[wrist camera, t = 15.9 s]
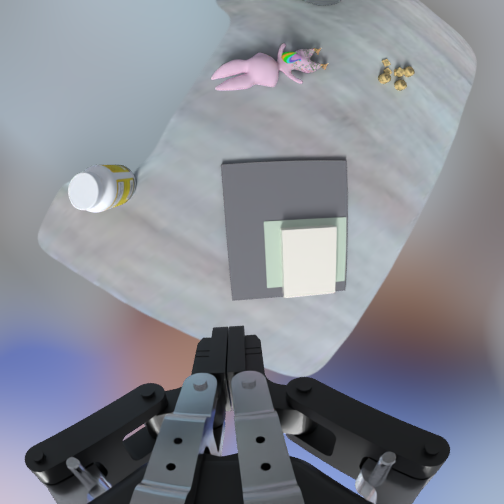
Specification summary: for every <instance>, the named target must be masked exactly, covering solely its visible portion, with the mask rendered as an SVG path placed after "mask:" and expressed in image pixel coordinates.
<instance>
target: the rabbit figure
mask: <svg viewBox="0 0 504 504" xmlns="http://www.w3.org/2000/svg"><path fill="white" fill-rule="evenodd" d="M285 47H286V44H285V43H283V44H282V45H281V47H280V49H279V51H278V60H277V62H276V61H275V60H274V59H273V58H272V57H270V56H268V55H266V54H264V53H257V54H256V55H255V56H253V57H252V58H250V59H248V60H241V59H236V60H232V61H229V62H227V63H225V64H223V65H222V66H220V67H219V68H218V69H217V70H216V71H215V73H214V74H213V75H212V77H211V79H212V80H214V79H219V78H224V77H228V76H233V75H237V74H240V73H245V74H243V75H239V76H237V77H234V78H231V79H228V80H226V81H225V82H223V83H221V84H220V85H218V86H217V87H215V89H216V90H240V89H247V88H250V87H252V86H253V85H255V84H258V85H263V86H269V87H274V86H276V84H277V82H278V73H279V70H280V71H282V72H283V73H285V74H286V75H287V76H288V77H289V78H291V79H292V80H294V81H296V82H298V83H300V84H302V83H303V81H302V80H301V79H298V78H296V77H294V76H293V75H292V73H291V70H294V69H296V70H299V71H302V72H305V73H312V72H315V71H316V70H317V69H319V68H320V67H321V66H323V67H322V68H325V69H324V70H326V67H327V64H329V63H327V64H319V63H316V62H313V61H311V60H310V58H311V57H312V55H313V53H314V51H316V52H315V53H317V54H318V53H319V51H320V49H321V48H320V49H316V48H313V49H299V50H297V51H296V52H284V53H283V49H284V48H285ZM318 55H319V54H318Z"/></svg>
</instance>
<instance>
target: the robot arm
mask: <svg viewBox="0 0 504 504" xmlns="http://www.w3.org/2000/svg"><path fill="white" fill-rule="evenodd" d="M304 1H306V2H309V3H312V4H316V5H332V4H336V3H338V2H339V1H341V0H304ZM231 404H232V408H233V411H234V415H235V416H234V421H235V431H236V440H237V449H238V453H237V454H232V455H228V456H221V454H222V447H223V439H224V432H225V415H226V413H225V412H226V411H231ZM142 424H144V425H145V427H144V428H142V429H140V430H139V431H137V432H136V433H135V434H133V435H132V436H130V437H129V438H127V439H126V440H124V441H123V439H124V437H125V436H126V435H127V434H129V433H130V432H132V431H133V430H135V429H136V428H138V427H139V426H141V425H142ZM283 433H286V436H287V437H288V438H289V439H290V440H292V441H293V442H295V443H296V444H298V445H299V446H301V447H302V448H304V449H305V450H307V451H308V452H310V453H311V454H313V455H315V456H316V457H318V458H319V459H321V460H322V461H324V462H326V463H328V464H329V465H331V466H333V467H334V468H336V469H338V470H339V471H341V472H343V473H344V474H346V475H348V476H350V477H352V478H353V479H355V480H356V482H355V487H356V490H357V492H358V493H359V494H360V495H362V496H363V497H364V498H363V497H361V496H360V495H358V494H356V493H354V492H353V491H351V490H349V489H348V488H346V487H344V486H343V485H341V484H340V483H338V482H337V481H335V480H333V479H332V478H330V477H329V476H327V475H326V474H324V473H323V472H321V471H320V470H318V469H317V468H315V467H314V466H313V465H311V464H309V463H308V462H306V461H304V460H301V459H298V458H295V457H291V456H289V454H288V450H287V447H286V443H285V439H284V436H283ZM449 453H450V447H449V444H448V442H447V441H446V440H445V439H444V438H443V437H441V436H439V435H436V434H433V433H431V432H428V431H426V430H423V429H421V428H418V427H416V426H413V425H411V424H408V423H406V422H404V421H401V420H399V419H397V418H394V417H392V416H390V415H388V414H385V413H383V412H381V411H379V410H376V409H374V408H372V407H370V406H368V405H366V404H363V403H361V402H359V401H357V400H355V399H353V398H351V397H349V396H347V395H345V394H343V393H341V392H339V391H337V390H335V389H333V388H331V387H329V386H327V385H325V384H323V383H321V382H319V381H317V380H315V379H313V378H309V377H300V378H296V379H293V380H292V381H290V382H289V383H288V384H287V385H280V384H276V383H273V382H271V381H270V380H268V379H267V378H266V376H265V373H264V365H263V357H262V349H261V341H260V339H259V338H258V337H257V336H256V335H246V336H245V332H244V326H231V327H229V329H228V327H215V328H213V331H212V338H203V339H202V340H201V341H200V342H199V343H198V345H197V350H196V355H195V360H194V364H193V369H192V374H191V376H189V377H188V378H186V380H185V381H184V383H183V386H182V387H180V388H177V389H173V390H169V391H164V389H163V387H162V386H160V385H158V384H154V383H148V384H143V385H141V386H139V387H137V388H136V389H134V390H132V391H131V392H129V393H127V394H126V395H124V396H123V397H121V398H119V399H117V400H116V401H114V402H112V403H111V404H109V405H107V406H106V407H104V408H102V409H100V410H99V411H97V412H95V413H93V414H92V415H90V416H88V417H87V418H85V419H83V420H81V421H79V422H78V423H76V424H74V425H72V426H71V427H69V428H67V429H65V430H63V431H61V432H59V433H58V434H56V435H54V436H52V437H50V438H48V439H46V440H44V441H43V442H40V443H39V444H37V445H35V446H33V447H31V448H30V449H29V450H28V451H27V453H26V455H25V463H26V465H27V467H28V468H29V469H30V470H31V471H32V472H33V473H34V474H35V475H36V476H37V477H38V479H39V480H40V481H41V482H42V483H43V484H44V485H45V486H46V487H47V488H48V490H49V491H50V493H51V495H52V496H53V498H54V500H55V501H56V503H57V504H412V503H413V502H414V500H415V499H416V497H417V496H418V494H419V493H420V491H421V490H422V489H423V488H424V487H425V486H426V484H427V483H428V482H429V481H430V480H431V479H432V477H433V476H434V475H435V474H436V472H437V471H438V470H439V469H440V467H441V466H442V465H443V463H444V462H445V461H446V459H447V458H448V456H449Z"/></svg>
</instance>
